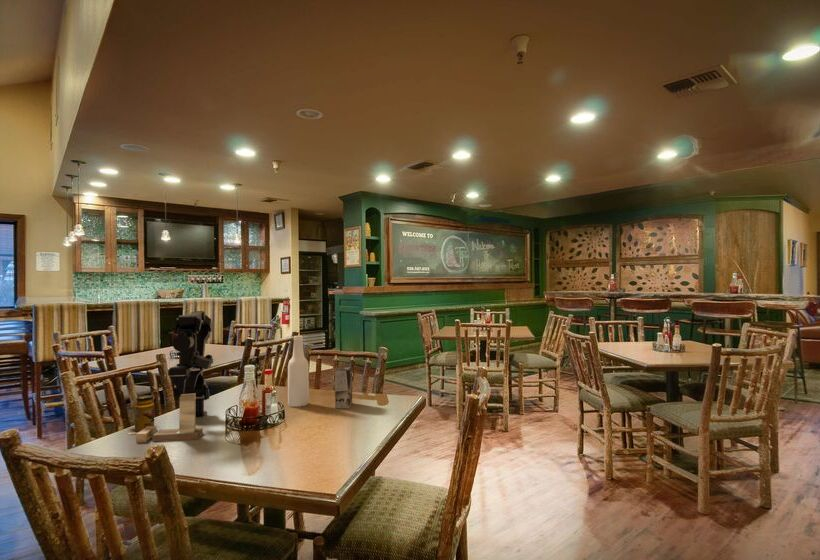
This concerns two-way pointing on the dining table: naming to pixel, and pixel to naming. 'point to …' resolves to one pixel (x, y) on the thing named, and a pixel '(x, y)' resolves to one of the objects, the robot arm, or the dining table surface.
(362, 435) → the dining table surface
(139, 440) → the lintel
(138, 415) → the condiment
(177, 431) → the flat wooden block
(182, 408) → the birch post
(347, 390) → the coffee box
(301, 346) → the alcohol
